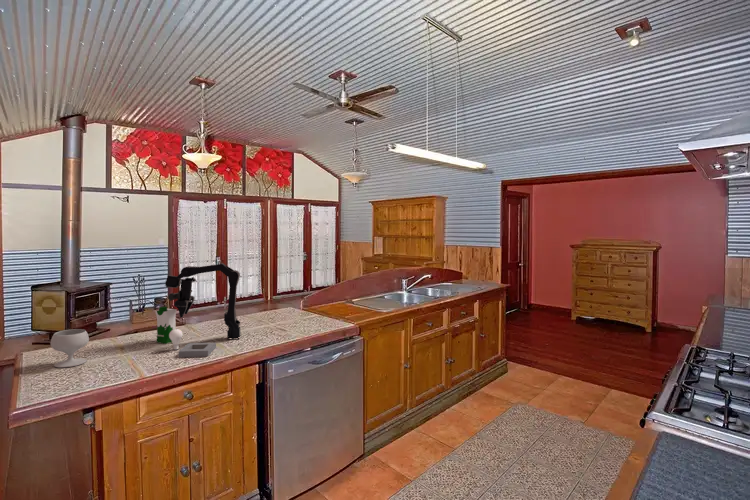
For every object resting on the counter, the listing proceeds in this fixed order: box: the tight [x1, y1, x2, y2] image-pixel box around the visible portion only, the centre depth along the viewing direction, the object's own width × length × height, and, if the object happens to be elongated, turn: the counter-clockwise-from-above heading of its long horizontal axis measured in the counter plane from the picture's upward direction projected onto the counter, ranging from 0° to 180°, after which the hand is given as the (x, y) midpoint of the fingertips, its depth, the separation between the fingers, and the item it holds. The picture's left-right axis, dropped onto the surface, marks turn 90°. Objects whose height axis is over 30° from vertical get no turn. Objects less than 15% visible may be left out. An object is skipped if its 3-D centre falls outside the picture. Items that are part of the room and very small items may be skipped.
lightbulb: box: [169, 328, 184, 351], centre depth 201 cm, size 6×6×11 cm
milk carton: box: [154, 306, 178, 345], centre depth 216 cm, size 9×9×20 cm
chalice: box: [50, 328, 90, 368], centre depth 179 cm, size 14×14×15 cm
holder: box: [177, 342, 217, 358], centre depth 197 cm, size 14×14×3 cm
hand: (183, 315), depth 218 cm, fingers open, 9 cm apart
